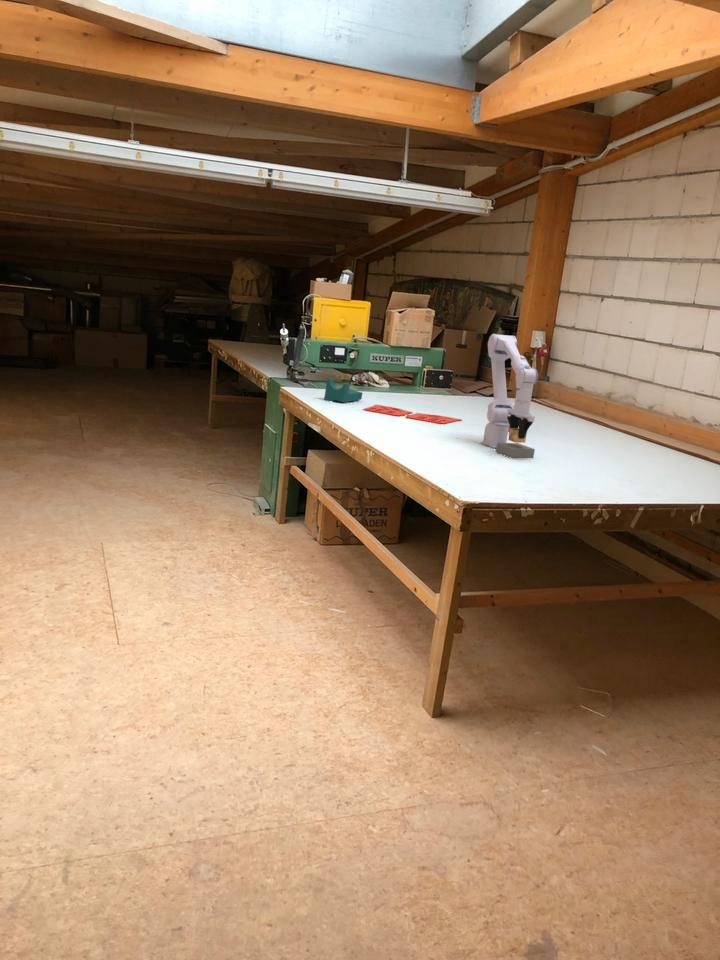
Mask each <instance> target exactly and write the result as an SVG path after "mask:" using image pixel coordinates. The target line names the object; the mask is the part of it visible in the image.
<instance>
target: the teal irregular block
mask: <svg viewBox="0 0 720 960" xmlns="http://www.w3.org/2000/svg"><path fill="white" fill-rule="evenodd" d="M334 381H335V379H334V378H327V381H326V385H325V391H324V397H323V401H327V400H328V401H327V402H330V401H332V402H331V403H337V402H341V403H347V402H354V401H360V400H362V397H363V392H362V391H358V390H354V389H351V388H350V383H348V382H345V383H343V384H342V386H341V387H337V386H336V385H335V382H334ZM336 401H337V402H336Z"/></svg>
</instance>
